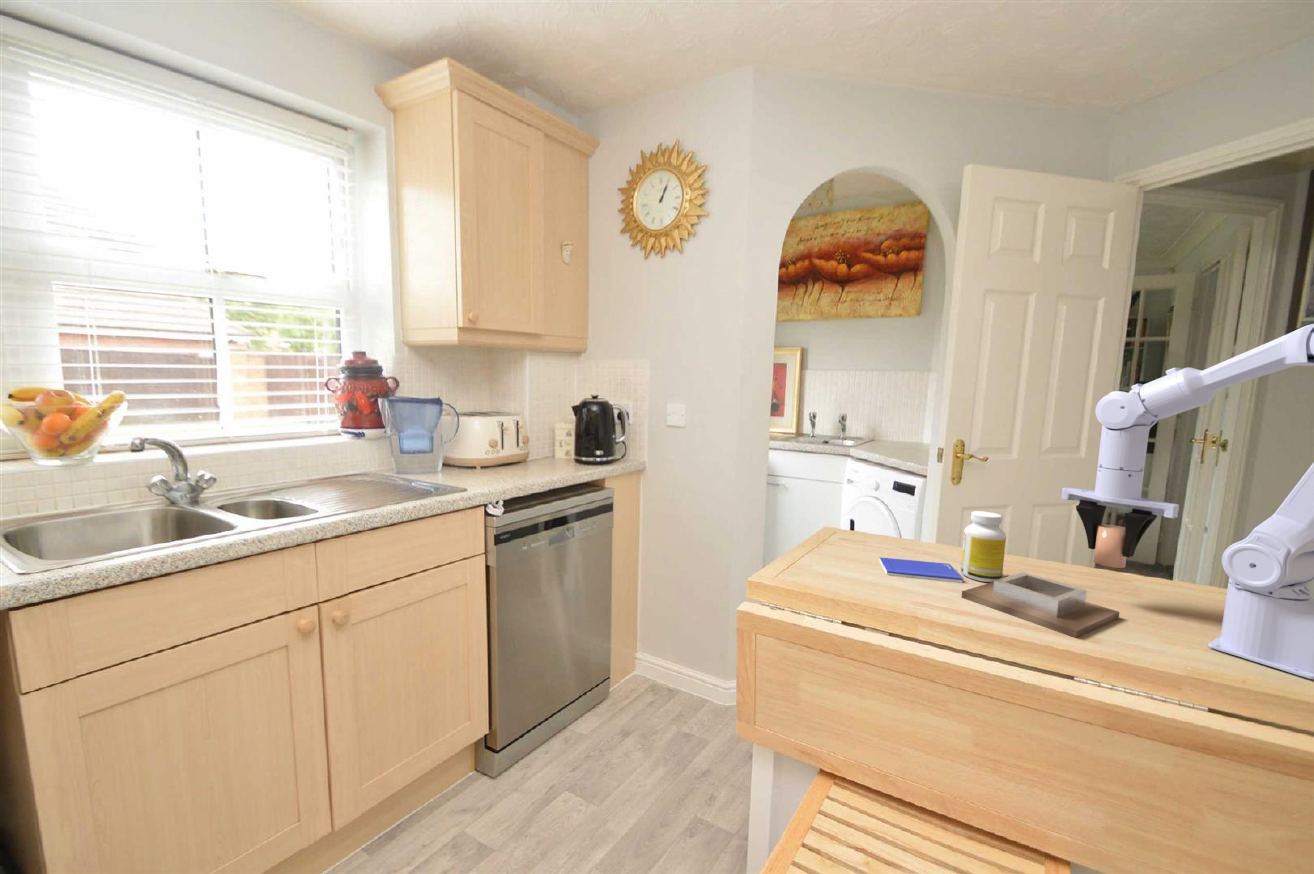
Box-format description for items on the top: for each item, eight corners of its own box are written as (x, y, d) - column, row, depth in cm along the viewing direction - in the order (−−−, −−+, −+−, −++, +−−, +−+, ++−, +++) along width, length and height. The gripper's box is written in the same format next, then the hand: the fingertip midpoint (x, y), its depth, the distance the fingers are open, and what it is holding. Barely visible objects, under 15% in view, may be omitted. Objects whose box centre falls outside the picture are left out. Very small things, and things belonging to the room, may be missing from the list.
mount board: (1118, 618, 84) (1119, 611, 84) (1075, 637, 76) (1076, 630, 76) (1006, 583, 97) (1007, 577, 97) (961, 597, 90) (962, 591, 90)
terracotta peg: (1129, 565, 89) (1133, 529, 88) (1118, 569, 87) (1123, 531, 86) (1099, 558, 92) (1103, 523, 92) (1088, 561, 90) (1092, 525, 90)
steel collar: (1084, 606, 85) (1086, 590, 85) (1056, 617, 81) (1058, 601, 80) (1021, 586, 93) (1023, 572, 93) (992, 596, 88) (994, 580, 88)
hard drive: (949, 562, 105) (879, 556, 107) (962, 577, 97) (887, 569, 99) (948, 570, 105) (878, 564, 107) (962, 586, 97) (886, 578, 99)
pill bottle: (1007, 585, 96) (1014, 519, 95) (967, 581, 98) (973, 516, 96) (993, 572, 103) (999, 511, 101) (955, 569, 104) (960, 508, 103)
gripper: (1190, 474, 84) (1178, 561, 85) (1078, 461, 96) (1070, 537, 97) (1173, 477, 80) (1161, 568, 81) (1059, 462, 92) (1050, 542, 94)
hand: (1110, 551), depth 89 cm, fingers closed on terracotta peg, 4 cm apart
